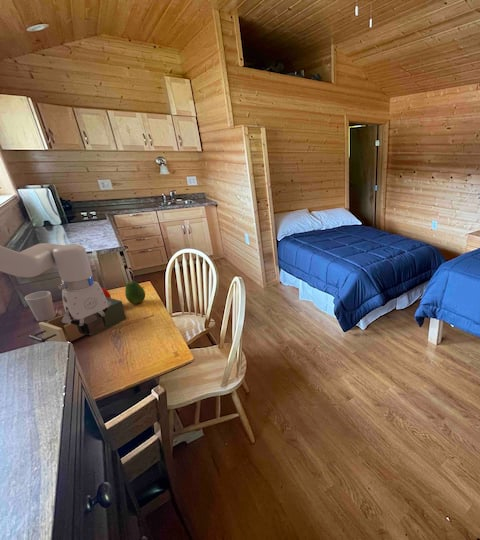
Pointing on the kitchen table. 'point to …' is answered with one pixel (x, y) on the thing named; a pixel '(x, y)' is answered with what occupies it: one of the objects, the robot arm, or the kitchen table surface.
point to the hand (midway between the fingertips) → (93, 329)
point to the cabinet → (113, 314)
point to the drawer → (57, 331)
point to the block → (94, 324)
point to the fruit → (134, 292)
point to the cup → (41, 305)
